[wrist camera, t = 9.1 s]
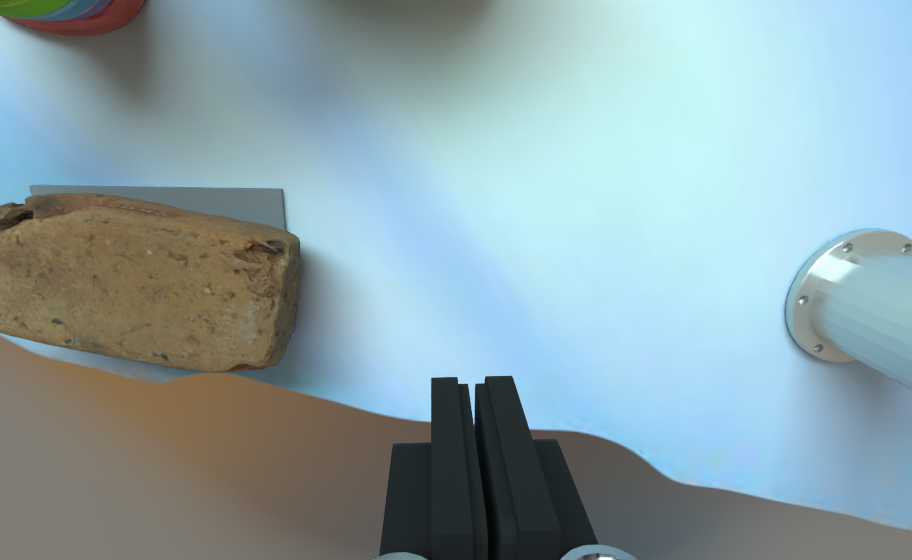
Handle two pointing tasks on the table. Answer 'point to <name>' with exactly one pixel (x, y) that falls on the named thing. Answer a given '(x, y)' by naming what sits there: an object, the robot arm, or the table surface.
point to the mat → (197, 200)
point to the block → (147, 282)
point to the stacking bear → (71, 14)
